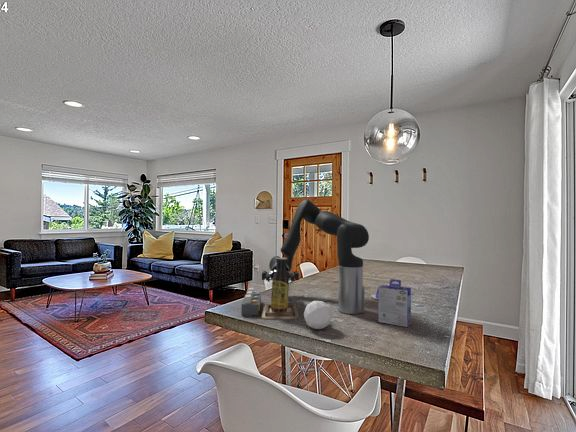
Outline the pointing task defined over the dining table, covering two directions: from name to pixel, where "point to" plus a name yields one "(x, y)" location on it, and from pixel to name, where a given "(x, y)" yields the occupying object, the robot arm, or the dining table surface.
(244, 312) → the breaker bank
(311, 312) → the faceted ball with stub
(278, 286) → the sauce bottle
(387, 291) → the ink cartridge box
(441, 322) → the dining table surface
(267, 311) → the square beige tray
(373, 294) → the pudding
